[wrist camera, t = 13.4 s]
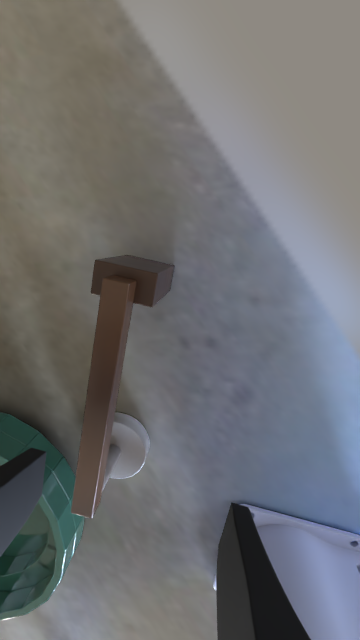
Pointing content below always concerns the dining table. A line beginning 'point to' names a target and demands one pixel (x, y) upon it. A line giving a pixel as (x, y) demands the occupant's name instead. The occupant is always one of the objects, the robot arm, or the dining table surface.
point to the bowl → (38, 526)
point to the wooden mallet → (114, 378)
